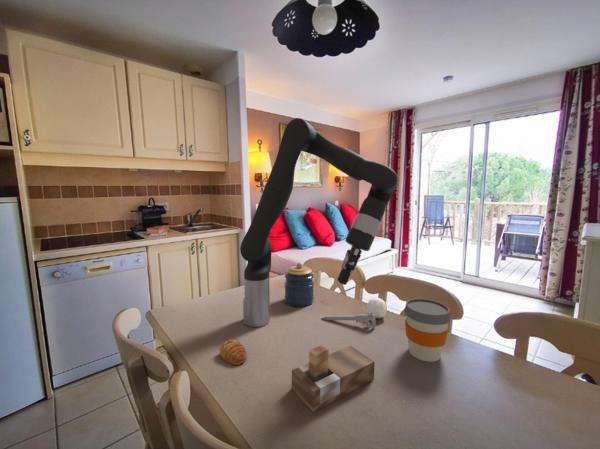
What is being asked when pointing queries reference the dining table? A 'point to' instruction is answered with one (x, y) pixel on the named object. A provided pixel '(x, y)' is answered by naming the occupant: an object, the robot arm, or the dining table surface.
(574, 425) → the dining table surface
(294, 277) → the canister
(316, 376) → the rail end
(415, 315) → the reusable coffee cup
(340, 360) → the notched wooden block
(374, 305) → the geometric ball
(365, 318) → the caliper
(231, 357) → the pastry
